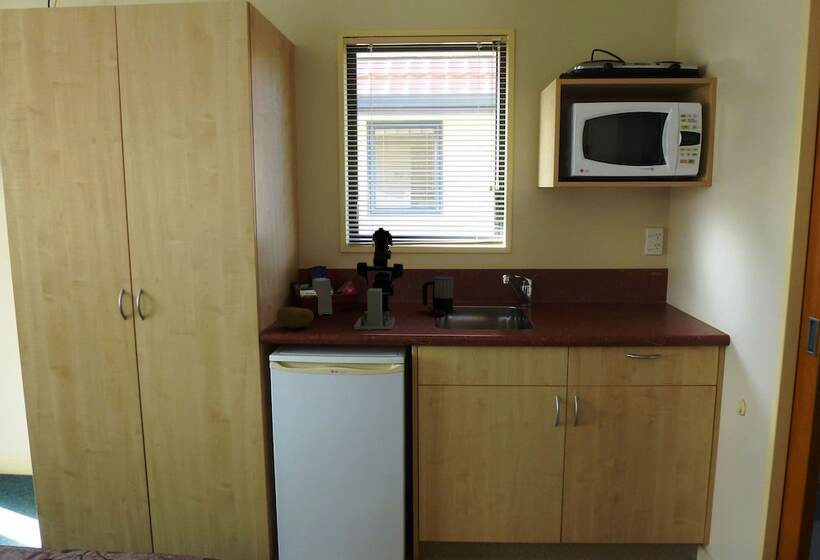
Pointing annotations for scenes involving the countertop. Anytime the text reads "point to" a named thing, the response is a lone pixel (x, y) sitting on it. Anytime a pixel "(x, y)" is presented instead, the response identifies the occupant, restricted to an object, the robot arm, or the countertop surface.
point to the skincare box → (323, 295)
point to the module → (374, 305)
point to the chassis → (363, 323)
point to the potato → (294, 317)
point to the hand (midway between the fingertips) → (378, 286)
